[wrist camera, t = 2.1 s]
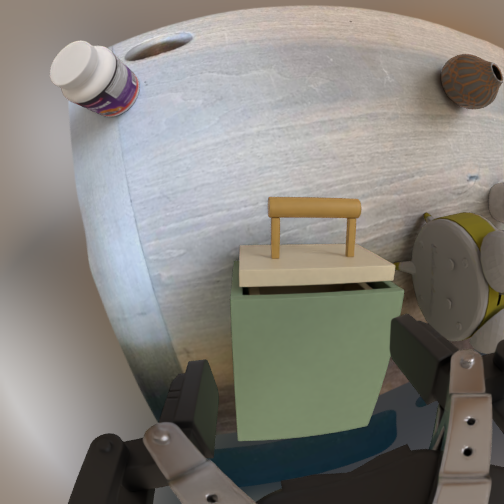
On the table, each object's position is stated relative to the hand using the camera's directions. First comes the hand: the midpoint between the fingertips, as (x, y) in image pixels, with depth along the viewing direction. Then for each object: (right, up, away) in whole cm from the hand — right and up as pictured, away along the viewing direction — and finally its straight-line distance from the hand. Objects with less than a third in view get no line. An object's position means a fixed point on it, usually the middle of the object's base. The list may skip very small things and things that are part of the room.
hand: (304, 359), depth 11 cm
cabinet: (+2, -3, +18) cm, 19 cm away
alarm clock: (+16, +4, +17) cm, 24 cm away
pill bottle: (-16, +21, +12) cm, 29 cm away
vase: (+23, +25, +12) cm, 36 cm away
